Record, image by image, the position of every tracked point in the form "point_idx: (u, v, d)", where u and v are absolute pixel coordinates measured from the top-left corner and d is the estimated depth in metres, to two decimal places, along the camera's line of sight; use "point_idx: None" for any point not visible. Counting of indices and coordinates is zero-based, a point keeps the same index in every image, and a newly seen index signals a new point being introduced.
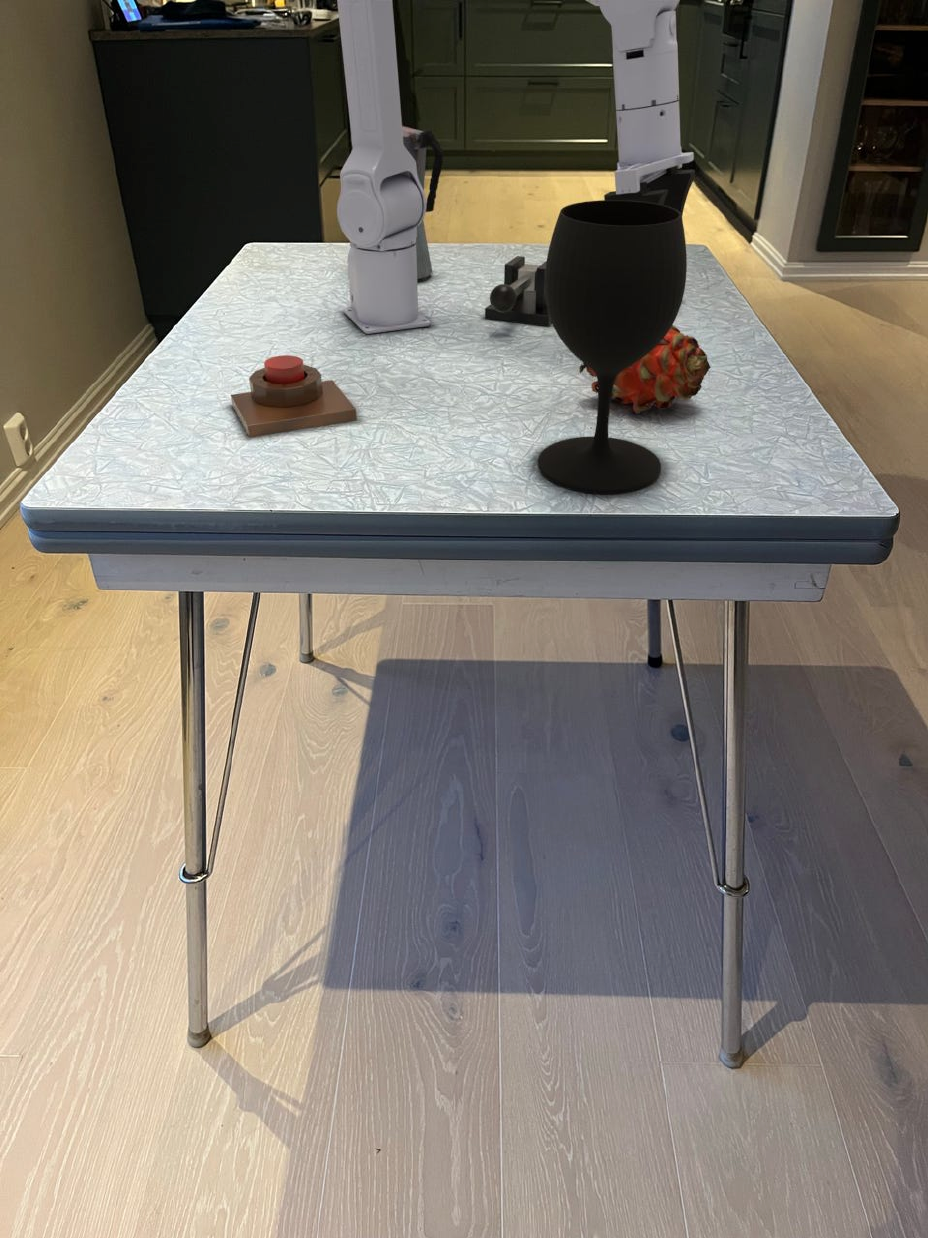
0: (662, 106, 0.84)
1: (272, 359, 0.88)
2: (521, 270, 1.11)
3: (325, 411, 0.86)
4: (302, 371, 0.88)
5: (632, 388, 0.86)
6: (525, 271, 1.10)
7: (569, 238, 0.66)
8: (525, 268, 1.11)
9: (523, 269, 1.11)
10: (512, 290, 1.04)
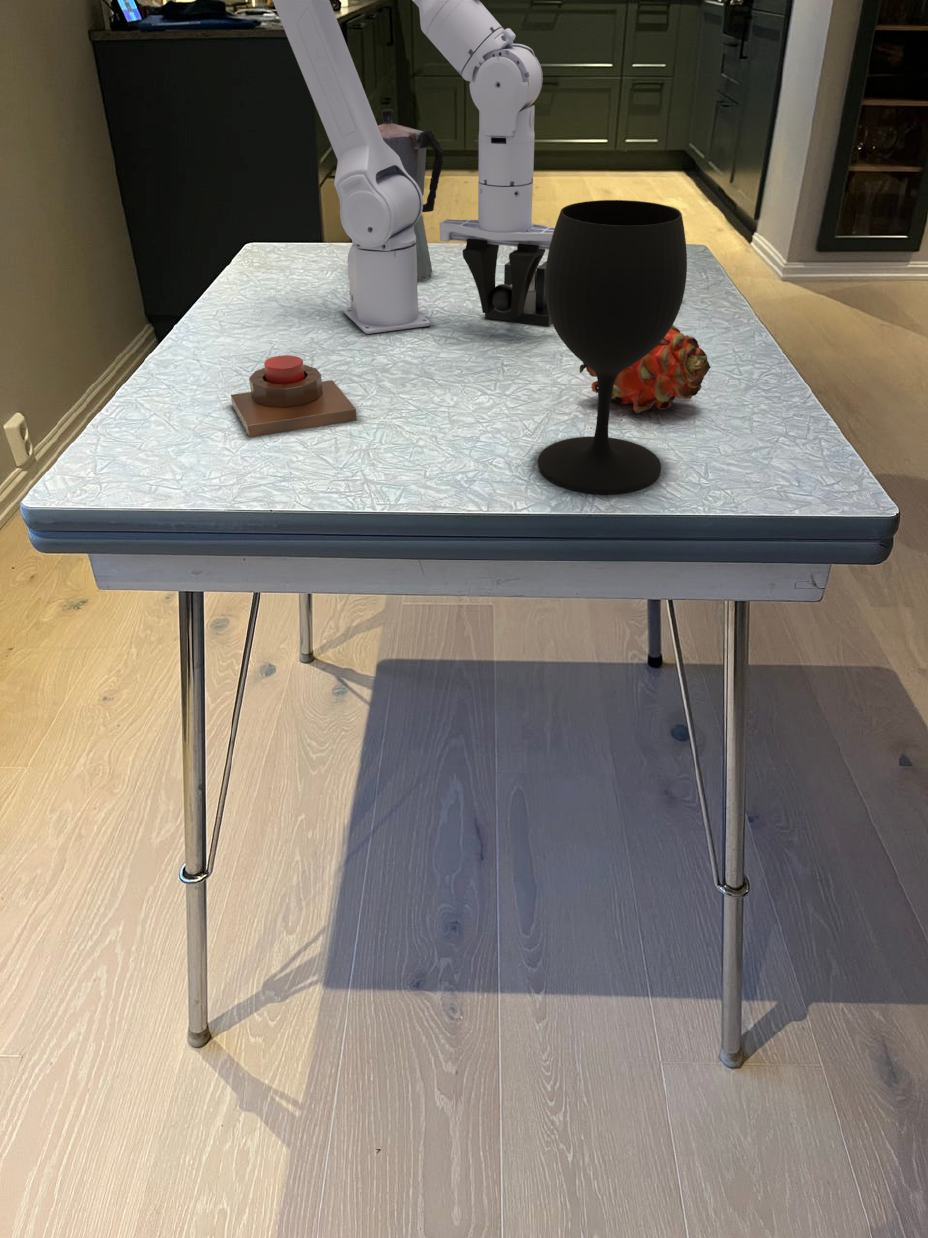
0: None
1: (272, 359, 0.88)
2: None
3: (325, 411, 0.86)
4: (302, 371, 0.88)
5: (632, 388, 0.86)
6: None
7: (569, 238, 0.66)
8: None
9: None
10: None
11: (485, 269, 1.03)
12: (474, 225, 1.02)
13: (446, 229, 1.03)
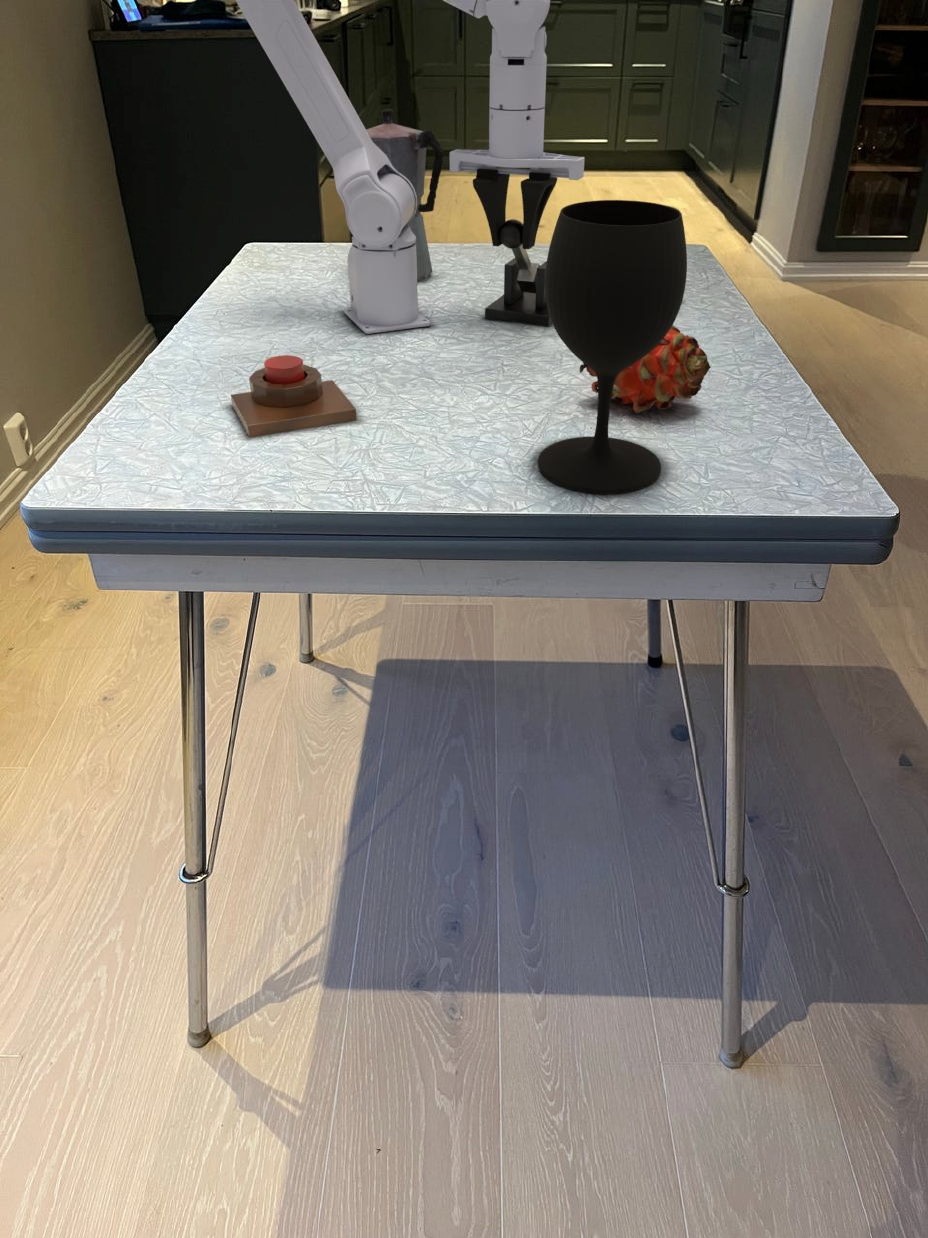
0: None
1: (272, 359, 0.88)
2: None
3: (325, 411, 0.86)
4: (302, 371, 0.88)
5: (632, 388, 0.86)
6: None
7: (569, 238, 0.66)
8: None
9: None
10: None
11: (495, 199, 1.01)
12: (485, 154, 1.00)
13: (456, 159, 1.01)
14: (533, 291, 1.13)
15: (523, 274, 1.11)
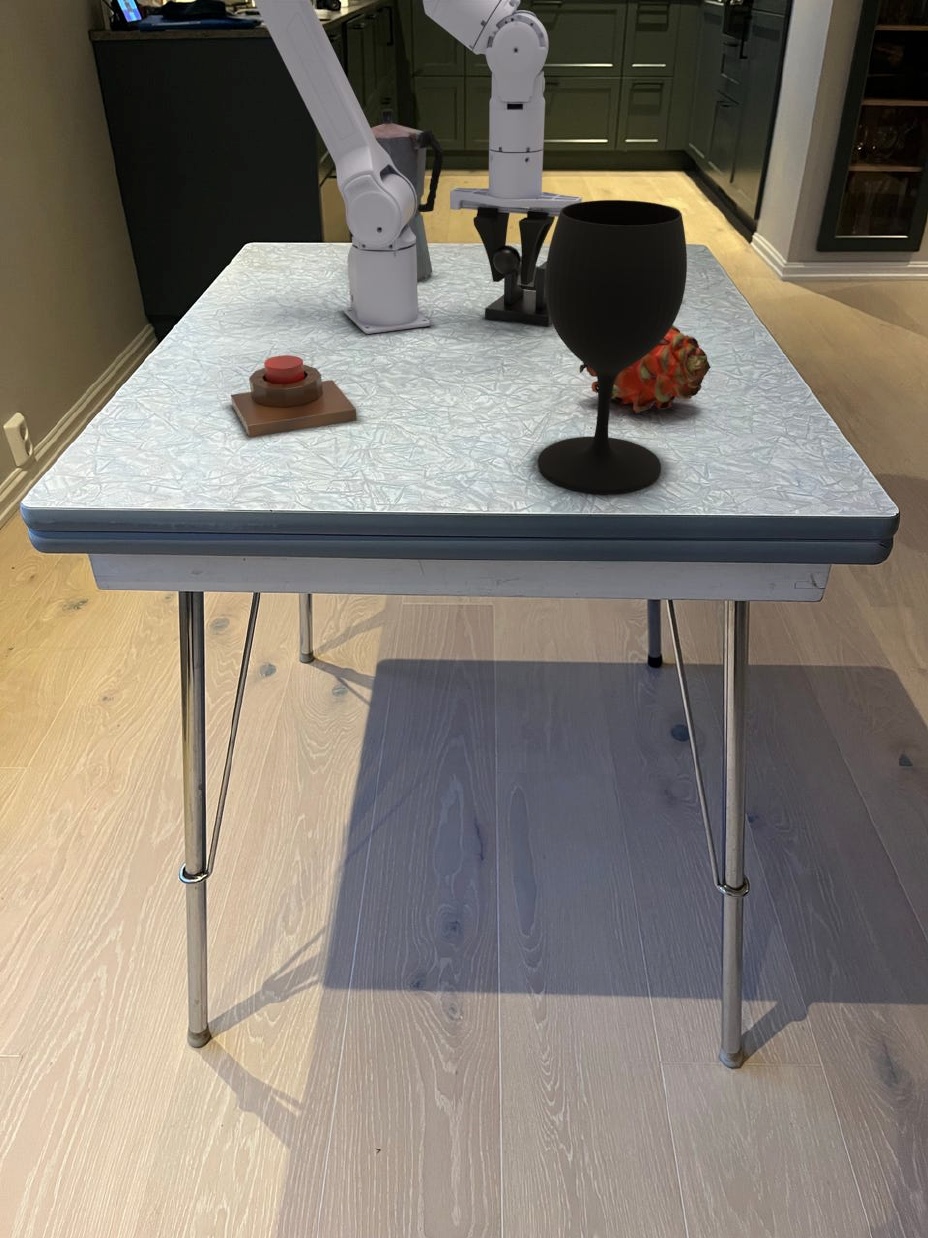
0: None
1: (272, 359, 0.88)
2: None
3: (325, 411, 0.86)
4: (302, 371, 0.88)
5: (632, 388, 0.86)
6: None
7: (569, 238, 0.66)
8: None
9: None
10: (517, 251, 1.03)
11: (496, 237, 1.03)
12: (484, 193, 1.03)
13: (456, 197, 1.03)
14: (534, 290, 1.13)
15: None
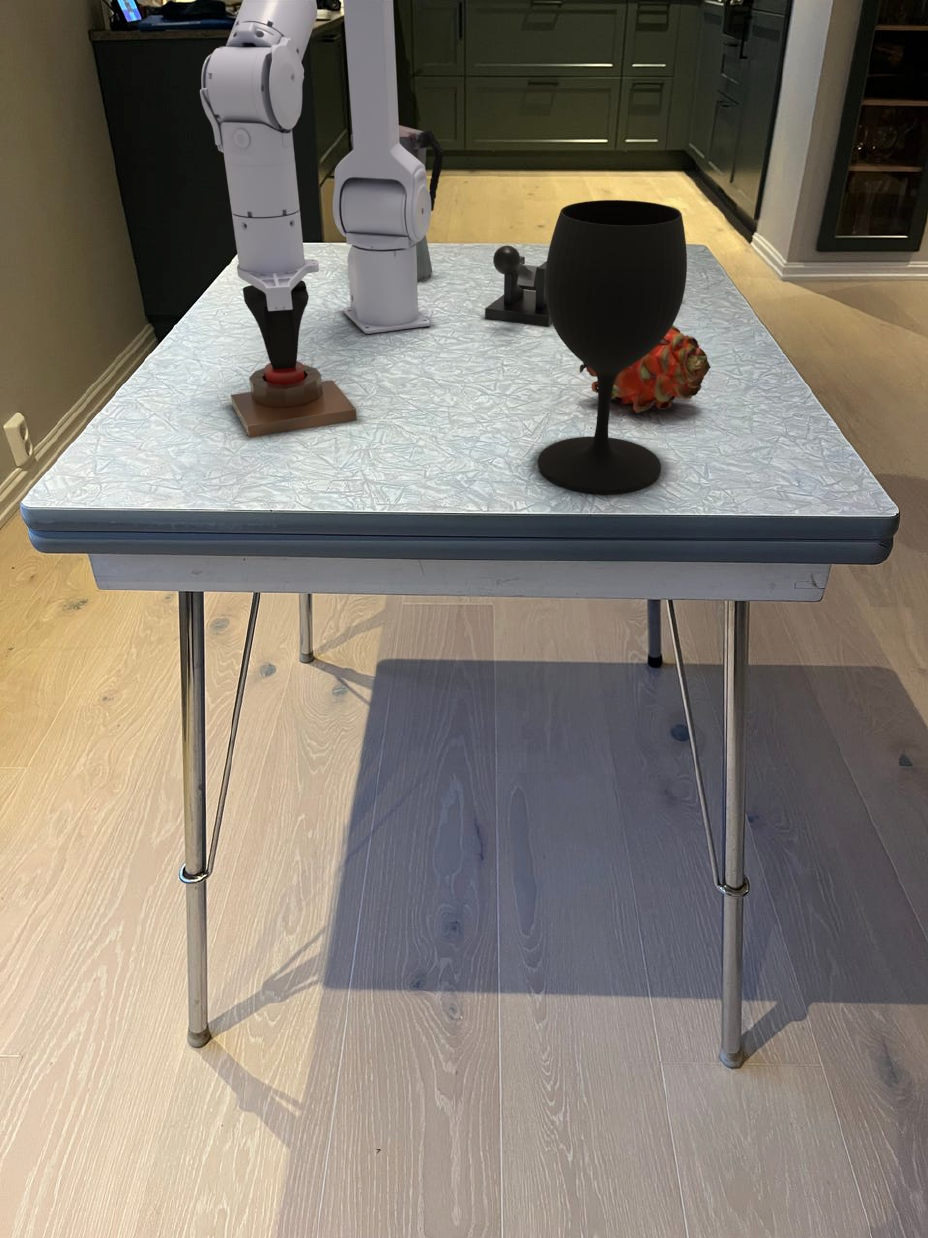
0: (291, 216, 0.79)
1: None
2: (523, 264, 1.11)
3: (325, 411, 0.86)
4: (302, 376, 0.88)
5: (632, 388, 0.86)
6: (527, 265, 1.11)
7: (569, 238, 0.66)
8: None
9: (525, 265, 1.11)
10: (517, 251, 1.03)
11: None
12: None
13: None
14: (534, 290, 1.13)
15: (523, 279, 1.11)
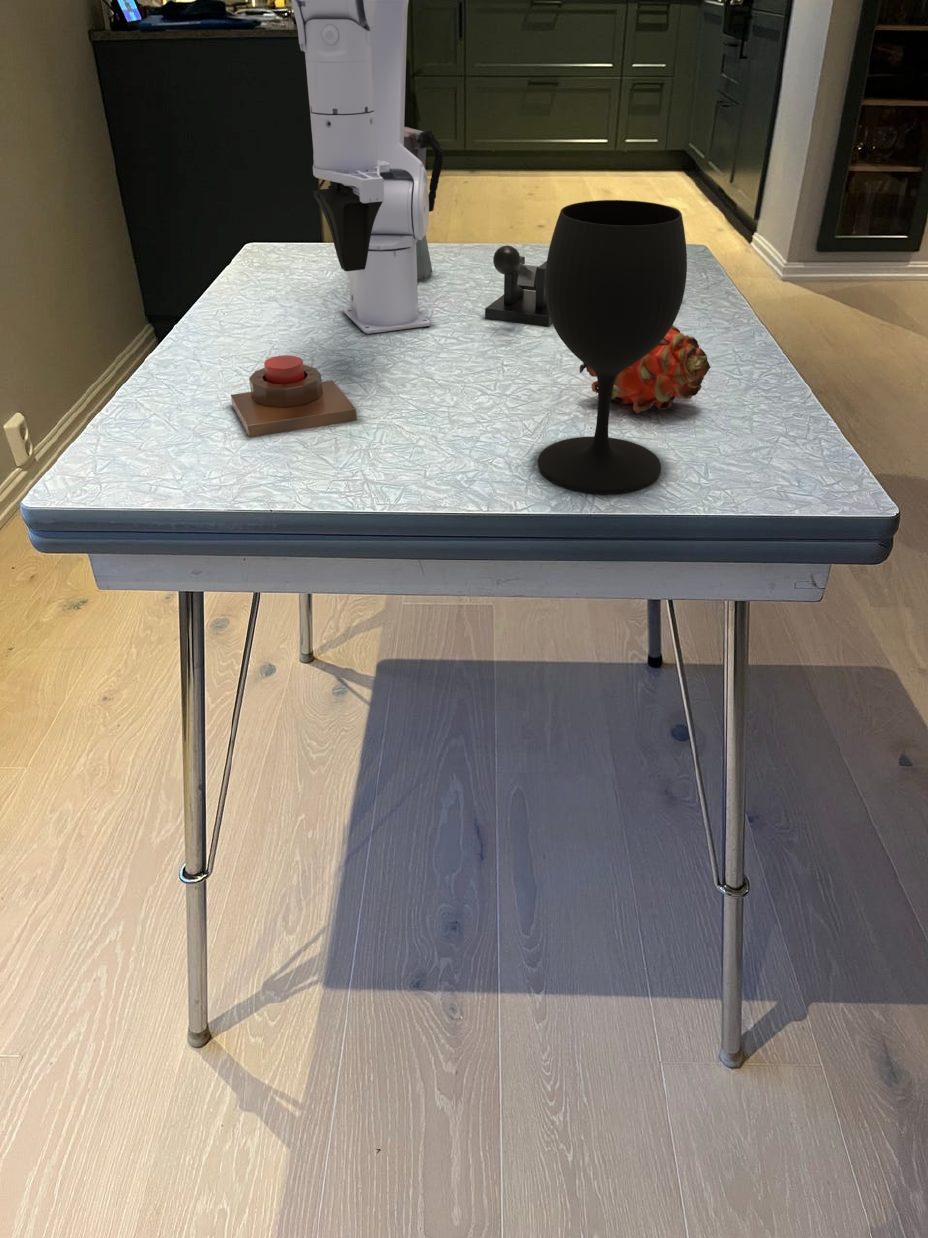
0: (371, 113, 0.83)
1: (272, 359, 0.88)
2: (523, 264, 1.11)
3: (325, 411, 0.86)
4: (302, 371, 0.88)
5: (632, 388, 0.86)
6: (527, 265, 1.11)
7: (569, 238, 0.66)
8: None
9: (525, 265, 1.11)
10: (517, 251, 1.03)
11: None
12: None
13: None
14: (534, 290, 1.13)
15: (523, 279, 1.11)
